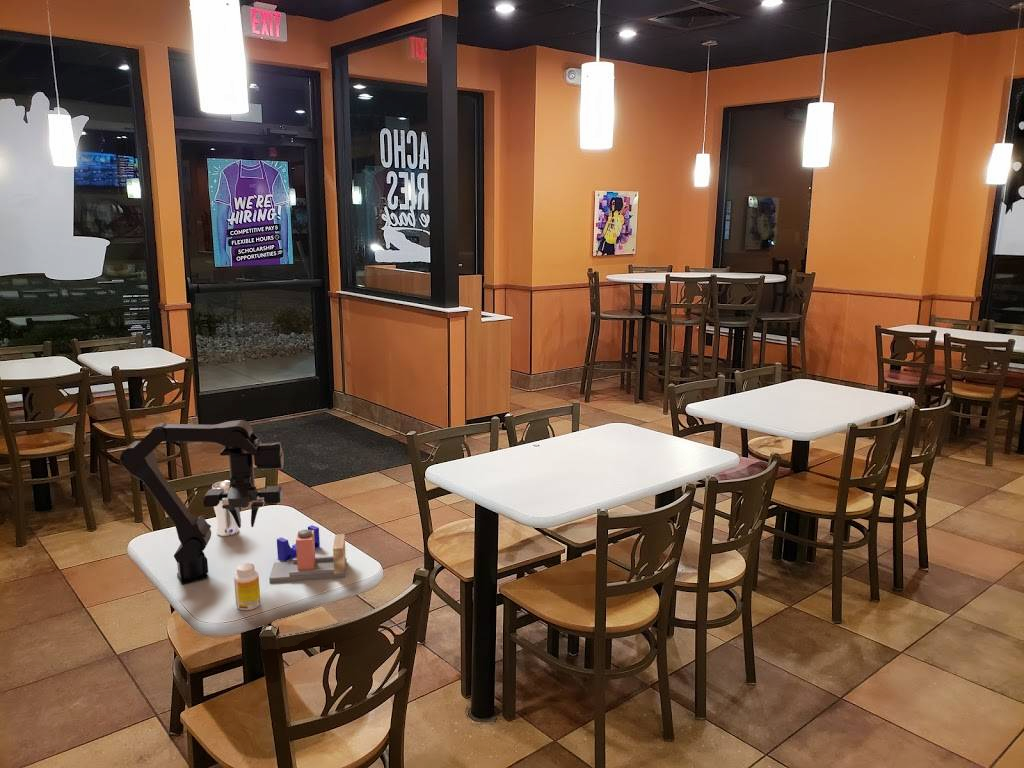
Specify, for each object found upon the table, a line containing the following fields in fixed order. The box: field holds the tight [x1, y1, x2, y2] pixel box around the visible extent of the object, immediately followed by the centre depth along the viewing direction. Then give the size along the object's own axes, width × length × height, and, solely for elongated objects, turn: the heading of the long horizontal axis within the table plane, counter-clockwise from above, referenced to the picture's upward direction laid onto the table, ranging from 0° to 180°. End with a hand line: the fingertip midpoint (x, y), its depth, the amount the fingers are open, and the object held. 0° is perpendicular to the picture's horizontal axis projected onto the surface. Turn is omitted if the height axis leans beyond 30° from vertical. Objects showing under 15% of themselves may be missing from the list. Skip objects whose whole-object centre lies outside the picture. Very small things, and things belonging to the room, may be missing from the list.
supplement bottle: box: [233, 562, 261, 611], centre depth 184 cm, size 6×6×10 cm
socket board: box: [268, 555, 348, 583], centre depth 202 cm, size 19×9×2 cm, turn 99°
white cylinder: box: [211, 480, 240, 537], centre depth 225 cm, size 7×7×15 cm
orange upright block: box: [295, 529, 317, 571], centre depth 200 cm, size 4×6×10 cm, turn 9°
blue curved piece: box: [276, 524, 321, 562], centre depth 213 cm, size 12×4×6 cm, turn 143°
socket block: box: [332, 533, 347, 574], centre depth 202 cm, size 2×9×7 cm, turn 9°
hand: (246, 527), depth 198 cm, fingers open, 3 cm apart
